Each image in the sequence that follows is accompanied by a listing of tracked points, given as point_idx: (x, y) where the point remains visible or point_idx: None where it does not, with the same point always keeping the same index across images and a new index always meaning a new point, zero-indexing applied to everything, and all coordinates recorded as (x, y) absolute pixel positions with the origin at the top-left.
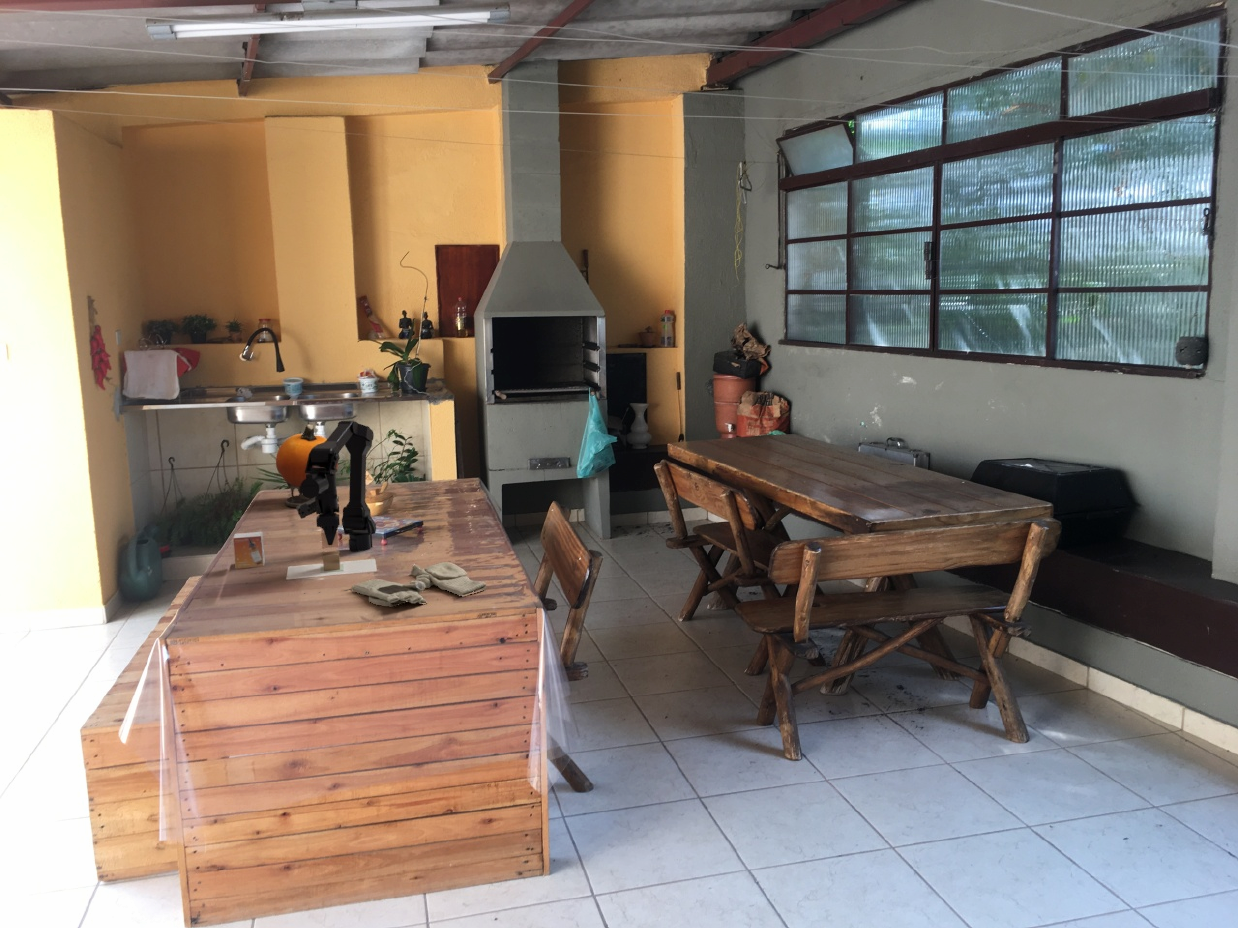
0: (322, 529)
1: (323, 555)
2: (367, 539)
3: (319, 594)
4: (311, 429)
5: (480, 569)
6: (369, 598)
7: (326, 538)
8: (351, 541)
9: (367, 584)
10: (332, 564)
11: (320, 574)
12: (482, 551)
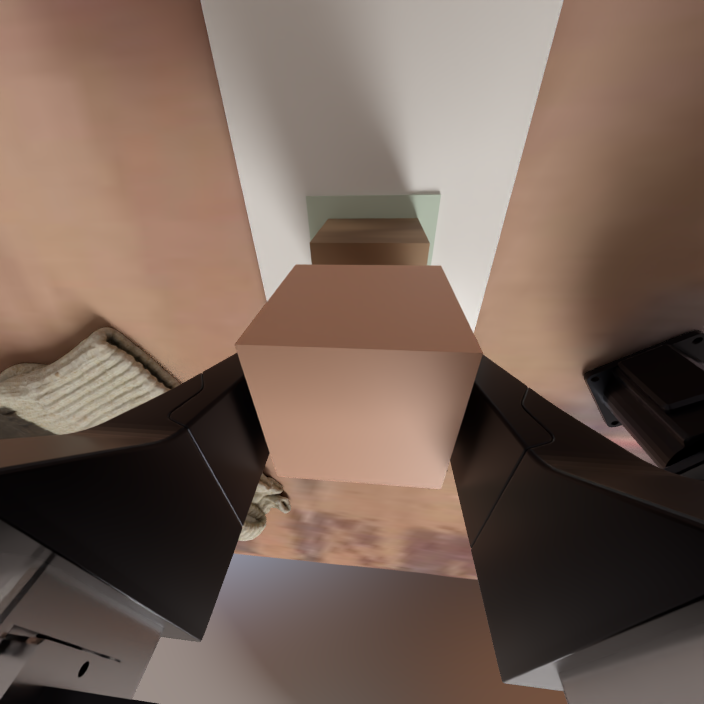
0: (459, 365)
1: (323, 247)
2: (644, 449)
3: (34, 195)
4: None
5: (296, 537)
6: (22, 369)
7: (233, 355)
8: (687, 393)
9: (88, 383)
10: None
11: (276, 197)
12: (422, 557)
